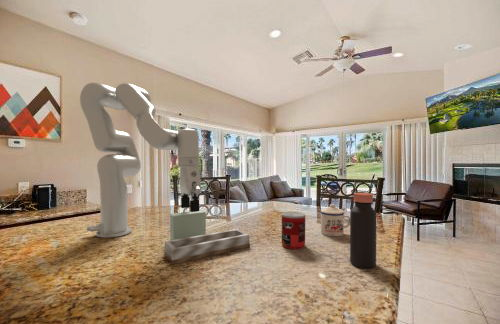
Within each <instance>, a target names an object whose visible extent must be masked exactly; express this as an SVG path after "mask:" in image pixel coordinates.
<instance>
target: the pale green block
mask: <svg viewBox="0 0 500 324" xmlns="http://www.w3.org/2000/svg"><path fill="white" fill-rule="evenodd" d="M169 214H170V221H169V222H170V223H169V224H170V227H169V228H170V230H169V231H170V233H169V235H170V236H169V237H170V240H169V241H171V240H177V239H183V238H188V237H194V236H200V235H205V234H206V233H207V230H206V228H207V225H206V224H207V221H206V220H207V219H206V218H207V217H206V216H207V214H206V211H204V210H202V209H201V210H200V209H199V211H197V212H190V211H184V212H182V211H181V212H176V213H175V212H174V213H169Z"/></svg>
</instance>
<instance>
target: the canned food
mask: <svg viewBox="0 0 500 324" xmlns="http://www.w3.org/2000/svg"><path fill="white" fill-rule="evenodd" d="M281 244H282V245H281V246H282V247H284V248H286V249H289V250H301V249H304V248H305V245H306V214H305V213H304V212H299V211H284V212H282V213H281Z"/></svg>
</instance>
